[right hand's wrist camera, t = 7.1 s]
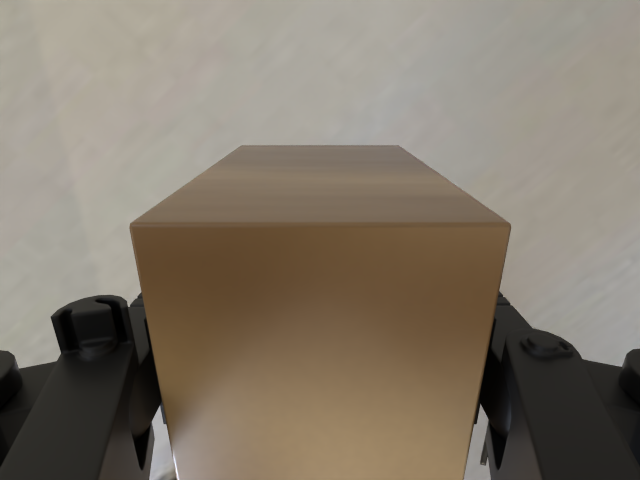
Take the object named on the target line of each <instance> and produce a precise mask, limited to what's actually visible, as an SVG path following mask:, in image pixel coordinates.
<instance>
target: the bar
mask: <svg viewBox="0 0 640 480" xmlns="http://www.w3.org/2000/svg"><path fill="white" fill-rule="evenodd" d="M510 231H511V225H510V223H509V222H508V221H506V220H505V219H503V218H502V217H500V216H499V215H498V214H496V213H495V212H493V211H492V210H490V209H489V208H487V207H486V206H485V205H483V204H482V203H480V202H479V201H477V200H476V199H475V198H473V197H472V196H470V195H469V194H467V193H466V192H465V191H463V190H462V189H460V188H459V187H457V186H456V185H455V184H453V183H452V182H450V181H449V180H447V179H446V178H445V177H443V176H442V175H440V174H439V173H437V172H436V171H435V170H433V169H432V168H430V167H429V166H427V165H426V164H425V163H423V162H422V161H420V160H419V159H417V158H416V157H415V156H413V155H412V154H410V153H409V152H407V151H406V150H405V149H403V148H402V147H400V146H398V145H242V146H240V147H239V148H237V149H236V150H234V151H233V152H231V153H230V154H229V155H227V156H226V157H224V158H223V159H221V160H220V161H219V162H217V163H216V164H214V165H213V166H211V167H210V168H209V169H207V170H206V171H204V172H203V173H201V174H200V175H199V176H197V177H196V178H194V179H193V180H191V181H190V182H189V183H187V184H186V185H184V186H183V187H181V188H180V189H179V190H177V191H176V192H174V193H173V194H172V195H170V196H169V197H167V198H166V199H164V200H163V201H162V202H160V203H159V204H157V205H156V206H154V207H153V208H152V209H150V210H149V211H147V212H146V213H144V214H143V215H142V216H140V217H139V218H137V219H136V220H134V221H133V222H132V223H130V233H131V238H132V244H133V249H134V254H135V259H136V265H137V270H138V275H139V281H140V286H141V291H142V297H143V302H144V307H145V312H146V318H147V323H148V328H149V334H150V339H151V344H152V350H153V355H154V360H155V365H156V371H157V376H158V381H159V387H160V392H161V397H162V403H163V408H164V413H165V418H166V424H167V429H168V434H169V440H170V445H171V450H172V456H173V461H174V466H175V471H176V477H177V480H463V479H464V474H465V468H466V463H467V458H468V452H469V447H470V442H471V437H472V431H473V426H474V421H475V415H476V410H477V405H478V400H479V394H480V389H481V384H482V378H483V373H484V368H485V363H486V357H487V352H488V347H489V341H490V336H491V331H492V326H493V320H494V315H495V310H496V305H497V299H498V294H499V289H500V283H501V278H502V273H503V268H504V262H505V257H506V252H507V246H508V241H509V236H510Z"/></svg>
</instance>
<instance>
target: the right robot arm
mask: <svg viewBox="0 0 640 480" xmlns="http://www.w3.org/2000/svg"><path fill="white" fill-rule="evenodd" d="M51 320H52V323H53V327H54V330H55V334H56V337H57V340H58V344H59V347H60V351H61V355H60V357H59V358H58V360H57V361H56V362H52V363H46V364H41V365H36V366H31V367H26V368H21V369H19V368H18V365H17V362H16V359H15V356H14V355H13V354H11V353H10V352H8V351H1V350H0V480H149V476H150V468H151V461H152V454H153V446H154V439H155V438H154V431H153V426H152V420H153V418H154V416H155V414H156V412H157V410H158V408H159V406H160V407H161V412H162V417H163V423H164V424H166V418H165V413H164V408H163V403H162V397H161V392H160V387H159V381H158V376H157V371H156V365H155V360H154V355H153V350H152V344H151V339H150V334H149V328H148V323H147V318H146V312H145V307H144V302H143V297H142V292H141V293H140V294H139V296H138V298H137V299H135V300H134V301H133V302H132V303H131V305H130V307H128V305H127V301H126V300H125V299H123V298H122V297H119V296H114V295H98V296H93V297H88V298H83V299H80V300H78V301H75V302H72V303H69V304H68V305H66V306H64V307H62V308H60V309H59V310H57V311H56V312H55V313H54V314H53V315H52V316H51ZM480 403H481V405H482V407H483V409H484V411H485V413H486V415H487V417H488V419H489V421H488V426H487V431H486V436H485V441H484V445H483V450H482V455H481V462H480V464H481V465H485V466H486V461H487V457H488V460H489V467H490V475H491V480H640V349H633V350H631V351H630V352H629V353H627V355H626V358H625V360H624V363H623V366H622V367H619V366H613V365H608V364H603V363H598V362H593V361H588V360H584V359H582V358H581V356H580V354H579V352H578V351H577V350H576V349H575V348H574V347H573V345H572V344H570V343H569V342H567V341H566V340H564V339H563V338H561V337H559V336H556V335H554V334H551V333H549V332H546V331H541V330H537V329H533V328H532V327H531V326H530V325H529V324H528V323H527V322H526V320H525V319H524V318H523V317H522V316H521V315H520V314H519V313H518V311H517V310H516V309H515V308H514V307H513V306H511V305H510V303H509V301H508V300H507V299H506V298H505V297H503V295H502V294H501V292H500V291H499V294H498V299H497V305H496V310H495V315H494V320H493V326H492V331H491V336H490V341H489V347H488V352H487V357H486V363H485V368H484V373H483V378H482V384H481V389H480V394H479V400H478V405H477V410H476V415H475V421H474V424H477V419H478V414H479V408H480Z"/></svg>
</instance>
